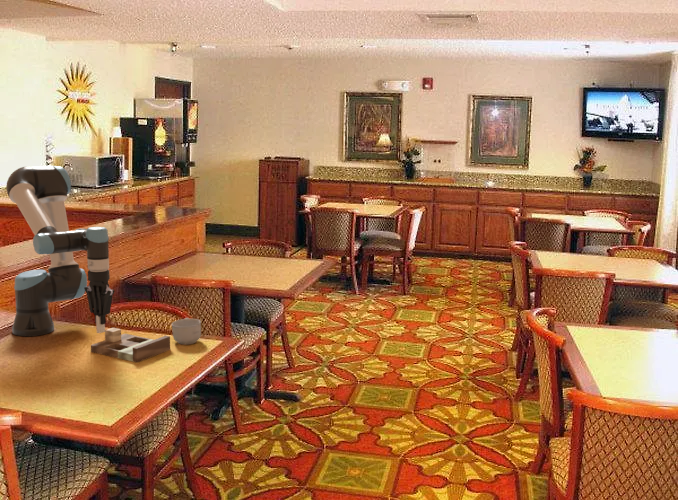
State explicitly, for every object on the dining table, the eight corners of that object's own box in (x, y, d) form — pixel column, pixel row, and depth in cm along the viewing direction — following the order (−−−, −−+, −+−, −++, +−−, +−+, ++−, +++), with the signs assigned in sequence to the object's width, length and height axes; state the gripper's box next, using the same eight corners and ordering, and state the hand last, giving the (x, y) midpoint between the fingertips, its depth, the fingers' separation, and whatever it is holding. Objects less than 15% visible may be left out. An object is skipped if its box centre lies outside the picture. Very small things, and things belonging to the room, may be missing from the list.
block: (105, 340, 276) (104, 330, 275) (113, 337, 279) (112, 327, 278) (113, 342, 274) (112, 331, 273) (121, 339, 277) (120, 329, 276)
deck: (90, 351, 271) (90, 338, 270) (125, 339, 285) (124, 327, 284) (137, 362, 260) (136, 348, 260) (170, 349, 275) (169, 336, 274)
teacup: (197, 347, 279) (197, 326, 277) (168, 346, 279) (168, 325, 278) (205, 336, 293) (205, 316, 291) (177, 335, 293) (177, 315, 291)
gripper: (77, 269, 274) (80, 332, 278) (103, 273, 268) (106, 337, 272) (93, 266, 281) (95, 327, 285) (119, 270, 275) (121, 332, 279)
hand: (100, 332), depth 279 cm, fingers closed
